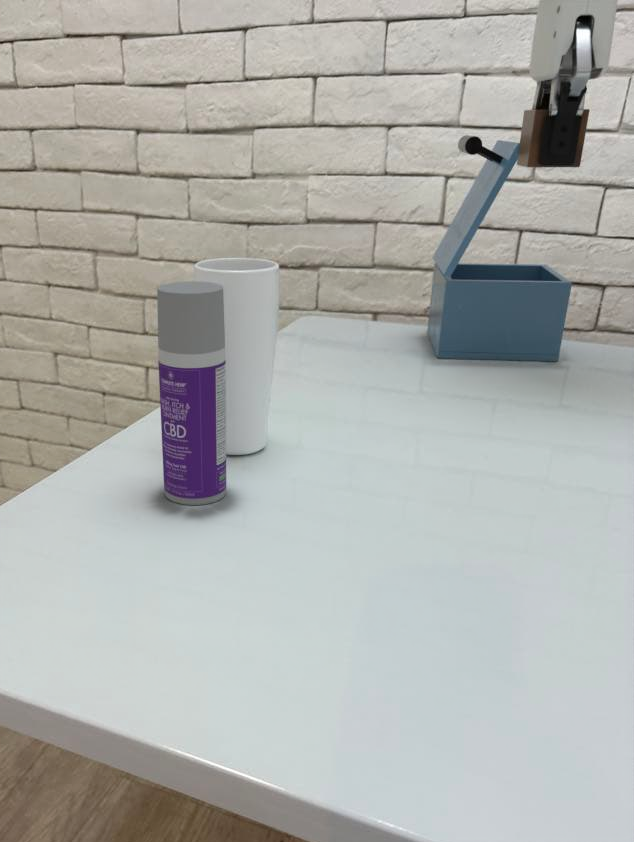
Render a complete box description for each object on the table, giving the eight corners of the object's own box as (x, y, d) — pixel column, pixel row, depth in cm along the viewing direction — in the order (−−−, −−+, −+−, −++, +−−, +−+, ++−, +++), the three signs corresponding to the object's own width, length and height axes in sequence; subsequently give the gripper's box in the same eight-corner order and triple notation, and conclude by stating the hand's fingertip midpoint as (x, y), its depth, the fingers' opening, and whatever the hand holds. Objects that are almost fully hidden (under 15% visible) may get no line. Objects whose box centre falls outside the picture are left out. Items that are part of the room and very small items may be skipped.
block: (566, 164, 81) (575, 109, 78) (580, 167, 76) (589, 109, 74) (516, 164, 81) (524, 110, 79) (527, 167, 77) (535, 109, 75)
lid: (503, 143, 96) (464, 122, 95) (525, 146, 85) (481, 122, 84) (437, 260, 102) (401, 241, 102) (449, 277, 91) (408, 257, 91)
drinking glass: (183, 454, 69) (178, 267, 62) (215, 428, 74) (213, 255, 67) (259, 465, 66) (262, 273, 59) (286, 438, 72) (291, 260, 65)
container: (157, 503, 60) (147, 292, 53) (172, 478, 64) (164, 280, 57) (220, 507, 59) (218, 294, 52) (231, 482, 63) (230, 281, 56)
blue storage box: (534, 335, 105) (546, 264, 101) (557, 361, 94) (572, 282, 90) (427, 333, 107) (434, 263, 103) (437, 358, 96) (446, 280, 92)
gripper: (666, -94, 62) (616, 168, 71) (600, -53, 77) (565, 159, 86) (565, -91, 63) (527, 168, 71) (518, -50, 78) (492, 160, 86)
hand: (548, 161), depth 79 cm, fingers closed on block, 4 cm apart
